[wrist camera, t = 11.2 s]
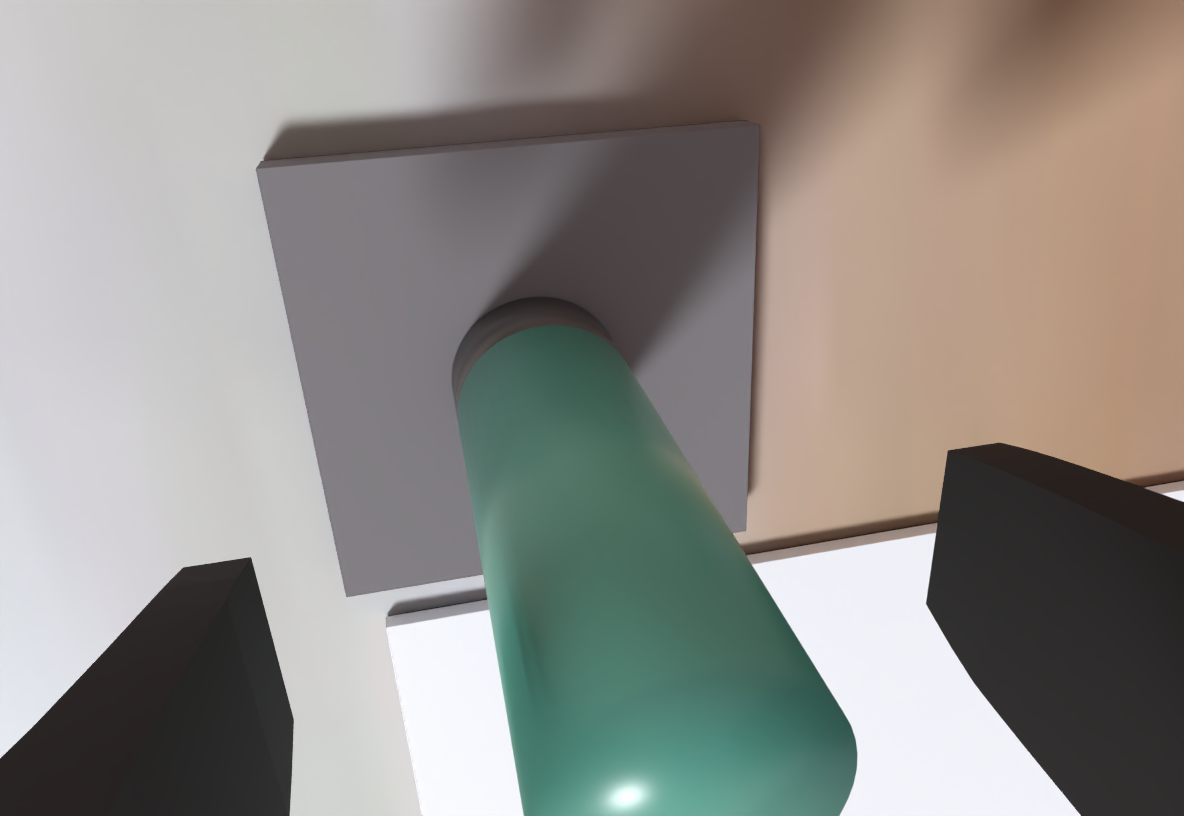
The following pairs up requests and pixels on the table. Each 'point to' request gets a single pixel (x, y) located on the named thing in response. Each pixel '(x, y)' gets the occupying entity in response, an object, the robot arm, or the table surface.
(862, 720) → the notepad
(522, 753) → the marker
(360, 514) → the grey square tile
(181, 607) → the robot arm
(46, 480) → the table surface
